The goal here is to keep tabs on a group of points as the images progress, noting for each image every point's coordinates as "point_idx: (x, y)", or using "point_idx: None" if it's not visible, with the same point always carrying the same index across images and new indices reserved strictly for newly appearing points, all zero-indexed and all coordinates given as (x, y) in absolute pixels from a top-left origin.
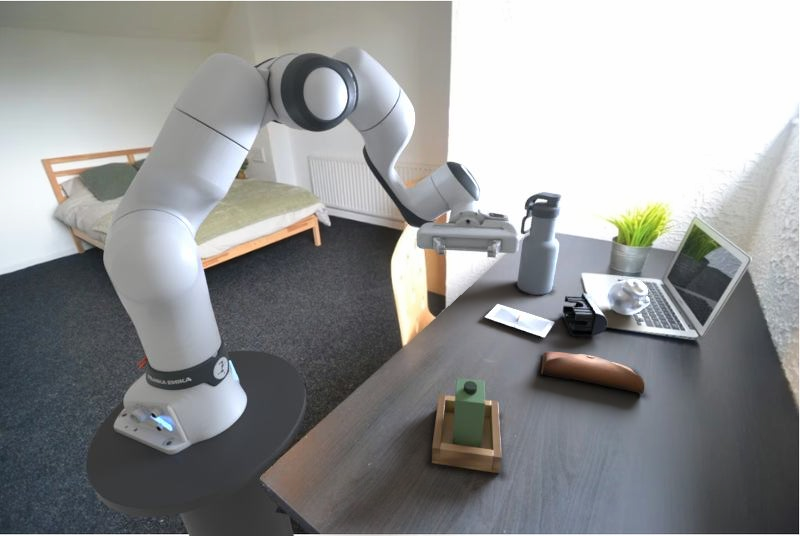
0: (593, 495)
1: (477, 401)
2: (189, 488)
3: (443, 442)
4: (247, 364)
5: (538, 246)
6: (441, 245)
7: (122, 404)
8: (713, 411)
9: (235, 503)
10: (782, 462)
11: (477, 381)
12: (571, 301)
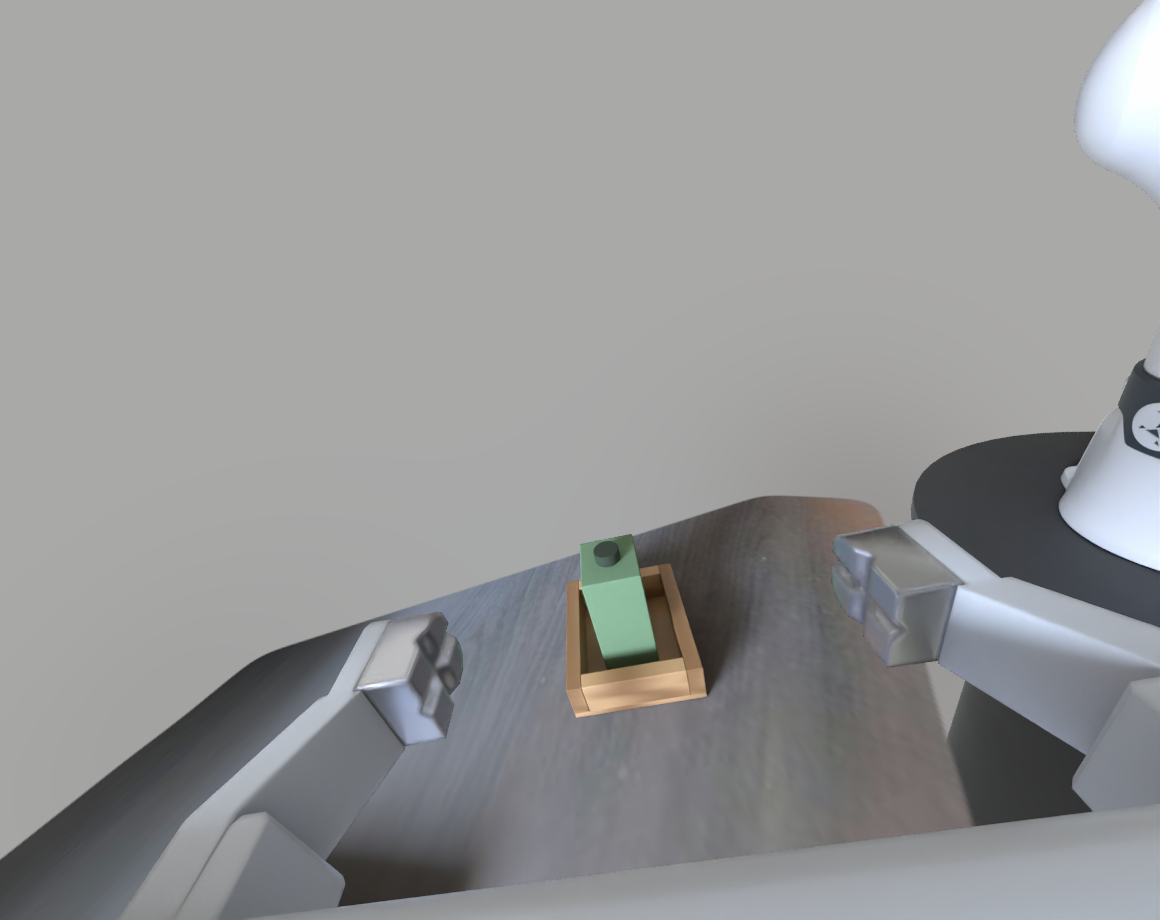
0: (458, 620)
1: (592, 543)
2: (955, 466)
3: (666, 616)
4: None
5: None
6: (891, 542)
7: None
8: (55, 909)
9: None
10: (125, 768)
11: (595, 580)
12: None
